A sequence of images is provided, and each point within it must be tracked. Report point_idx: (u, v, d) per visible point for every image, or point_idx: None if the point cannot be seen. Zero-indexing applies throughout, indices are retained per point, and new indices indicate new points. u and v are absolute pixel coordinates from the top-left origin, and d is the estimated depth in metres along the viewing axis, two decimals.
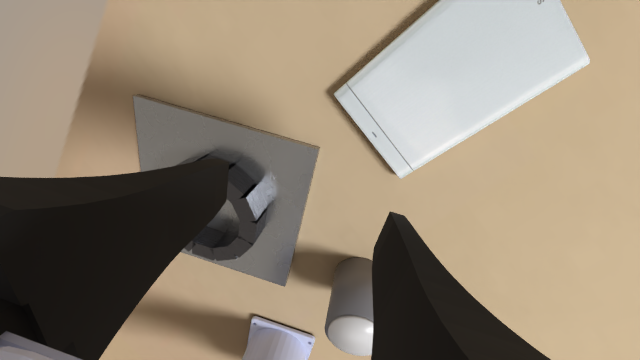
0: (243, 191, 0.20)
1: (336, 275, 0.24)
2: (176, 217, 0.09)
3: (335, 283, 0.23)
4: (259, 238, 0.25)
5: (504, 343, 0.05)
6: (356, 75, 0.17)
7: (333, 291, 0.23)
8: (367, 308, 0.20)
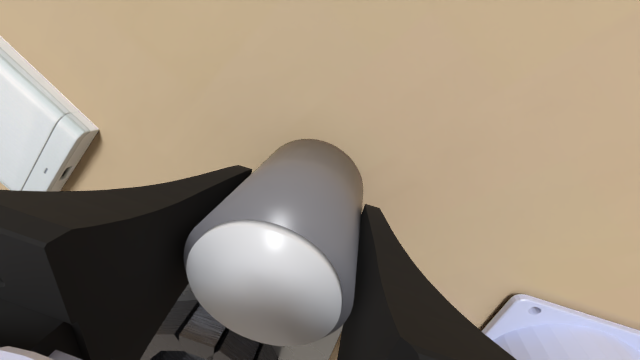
0: None
1: None
2: None
3: None
4: None
5: (447, 324, 0.05)
6: None
7: None
8: None
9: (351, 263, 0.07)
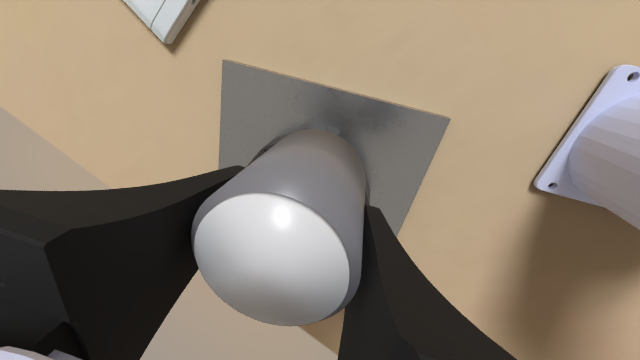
0: (261, 149, 0.18)
1: None
2: None
3: None
4: (355, 147, 0.19)
5: (447, 324, 0.05)
6: (141, 18, 0.18)
7: None
8: None
9: (359, 242, 0.07)
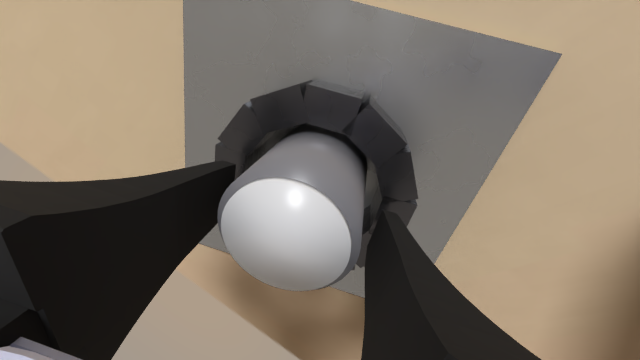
0: None
1: None
2: (184, 220, 0.09)
3: None
4: (393, 107, 0.12)
5: (487, 338, 0.05)
6: None
7: None
8: None
9: (359, 220, 0.08)
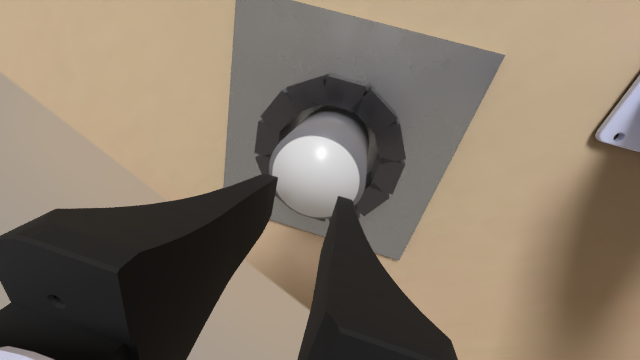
0: (281, 91, 0.15)
1: None
2: (237, 237, 0.08)
3: None
4: (388, 94, 0.16)
5: (385, 304, 0.05)
6: None
7: None
8: None
9: (365, 165, 0.13)
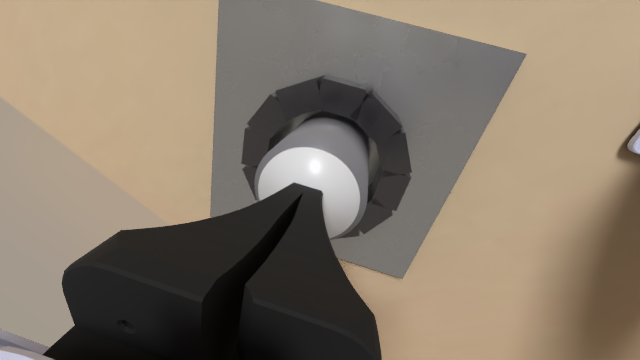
0: None
1: None
2: None
3: None
4: (391, 98, 0.14)
5: (317, 281, 0.05)
6: None
7: None
8: None
9: (366, 180, 0.11)
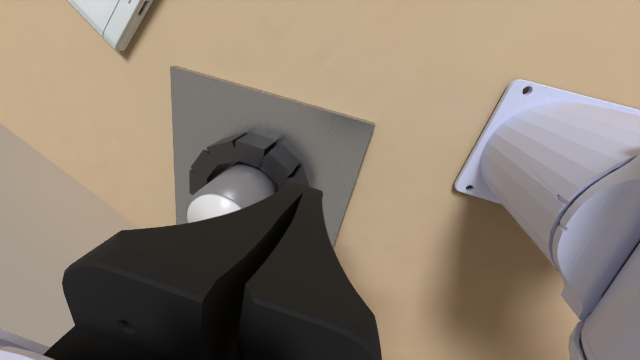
0: (204, 149, 0.19)
1: None
2: None
3: None
4: (293, 149, 0.20)
5: (318, 281, 0.05)
6: None
7: None
8: None
9: None
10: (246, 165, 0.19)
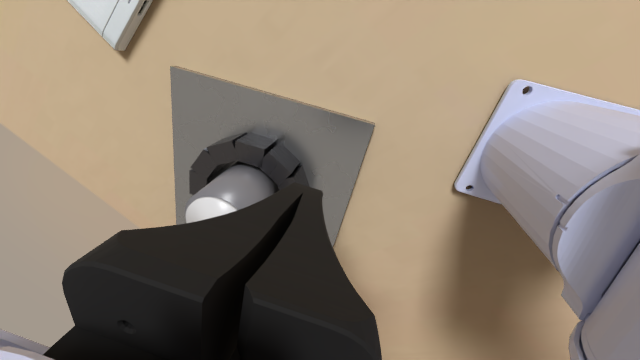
0: (204, 149, 0.19)
1: None
2: None
3: None
4: (293, 149, 0.20)
5: (318, 281, 0.05)
6: (93, 27, 0.19)
7: None
8: None
9: None
10: (244, 166, 0.19)
